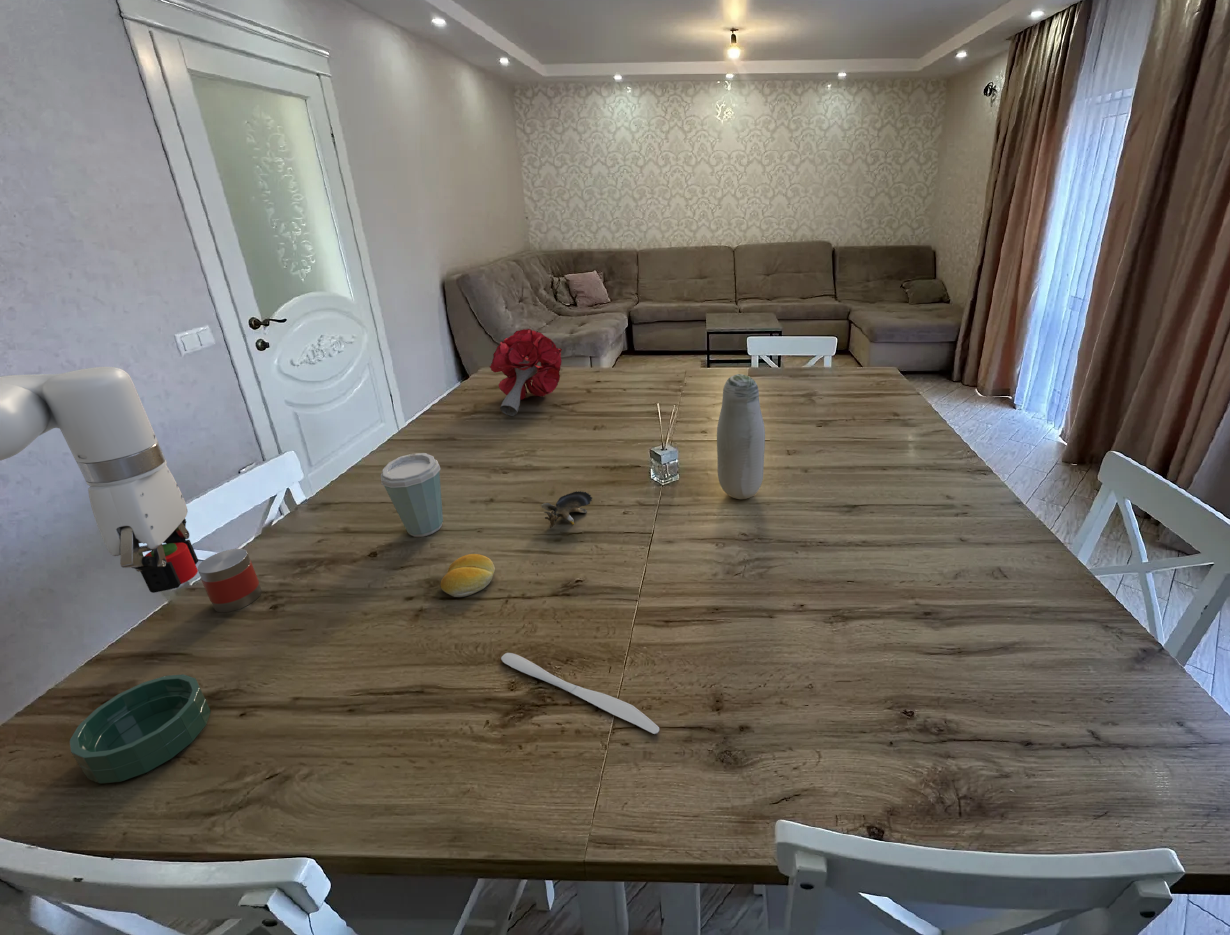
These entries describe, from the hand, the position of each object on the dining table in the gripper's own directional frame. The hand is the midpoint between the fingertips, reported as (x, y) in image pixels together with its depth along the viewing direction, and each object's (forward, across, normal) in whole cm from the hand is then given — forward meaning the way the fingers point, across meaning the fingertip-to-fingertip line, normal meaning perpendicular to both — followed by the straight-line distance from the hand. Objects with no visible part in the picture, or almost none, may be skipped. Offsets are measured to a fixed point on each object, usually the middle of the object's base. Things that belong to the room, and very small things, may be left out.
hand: (175, 576), depth 78 cm
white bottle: (+15, -12, +93) cm, 95 cm away
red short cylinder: (0, 0, 0) cm, 0 cm away
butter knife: (+14, +27, +51) cm, 59 cm away
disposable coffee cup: (+14, -24, +27) cm, 39 cm away
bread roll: (+14, -3, +36) cm, 39 cm away
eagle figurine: (+15, -16, +55) cm, 59 cm away
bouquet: (+15, -92, +52) cm, 107 cm away
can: (+14, -13, 0) cm, 19 cm away
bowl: (+14, +15, -1) cm, 21 cm away
